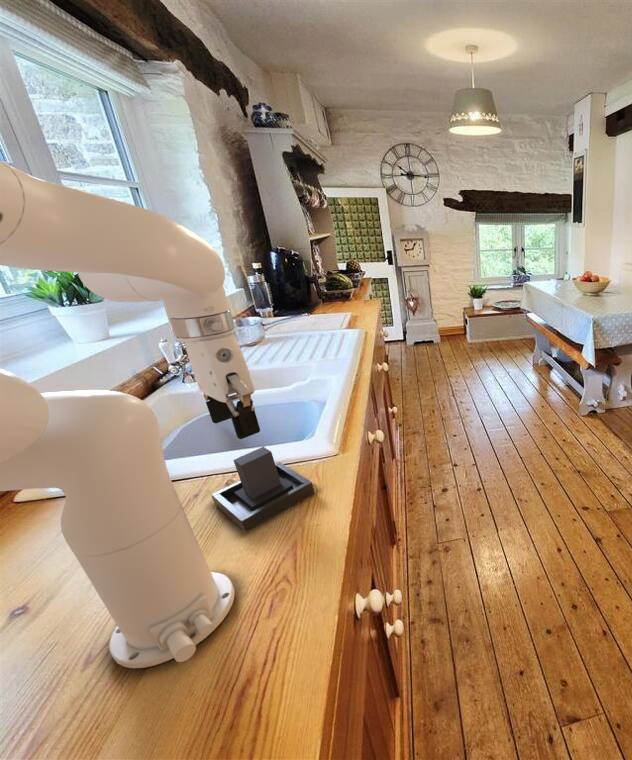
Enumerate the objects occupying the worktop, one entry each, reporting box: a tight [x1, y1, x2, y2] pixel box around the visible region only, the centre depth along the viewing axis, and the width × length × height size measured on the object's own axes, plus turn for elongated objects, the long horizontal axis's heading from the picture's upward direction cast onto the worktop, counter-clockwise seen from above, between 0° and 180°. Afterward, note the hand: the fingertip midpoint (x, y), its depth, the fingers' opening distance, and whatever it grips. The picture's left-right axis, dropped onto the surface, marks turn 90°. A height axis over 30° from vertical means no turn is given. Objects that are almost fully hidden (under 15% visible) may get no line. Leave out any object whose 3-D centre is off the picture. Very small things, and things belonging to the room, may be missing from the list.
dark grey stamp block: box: [233, 446, 293, 511], centre depth 72 cm, size 7×7×8 cm
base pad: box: [210, 461, 315, 533], centre depth 73 cm, size 12×12×2 cm
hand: (236, 427), depth 67 cm, fingers open, 9 cm apart
